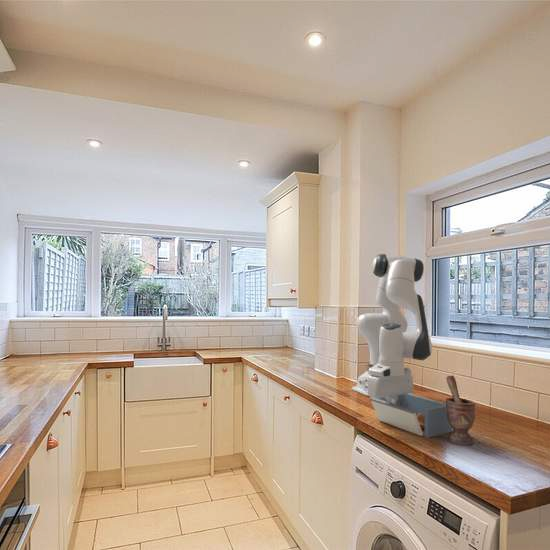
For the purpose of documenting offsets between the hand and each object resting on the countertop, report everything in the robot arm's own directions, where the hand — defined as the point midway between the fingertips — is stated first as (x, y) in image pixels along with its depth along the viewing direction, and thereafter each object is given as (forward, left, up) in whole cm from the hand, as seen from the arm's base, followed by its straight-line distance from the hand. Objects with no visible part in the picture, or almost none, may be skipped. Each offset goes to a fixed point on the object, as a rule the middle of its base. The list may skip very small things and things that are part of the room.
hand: (391, 408), depth 141 cm
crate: (+2, +8, -7) cm, 11 cm away
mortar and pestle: (+19, +9, -7) cm, 22 cm away
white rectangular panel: (+2, +1, -7) cm, 7 cm away
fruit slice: (+8, +9, -7) cm, 14 cm away
